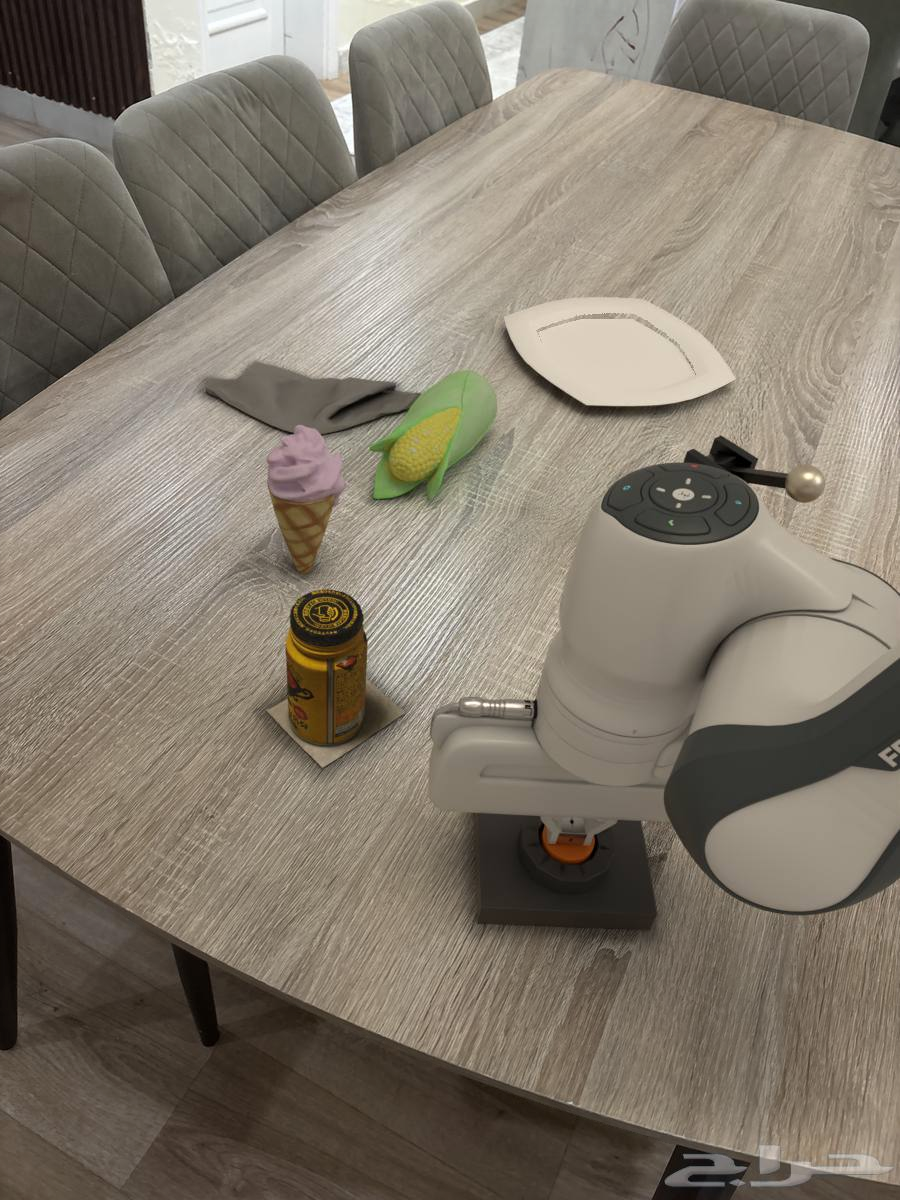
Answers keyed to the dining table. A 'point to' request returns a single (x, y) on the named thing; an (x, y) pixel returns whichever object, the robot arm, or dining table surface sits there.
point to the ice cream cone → (304, 491)
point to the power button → (566, 851)
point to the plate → (617, 353)
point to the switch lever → (779, 478)
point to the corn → (435, 434)
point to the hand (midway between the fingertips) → (567, 836)
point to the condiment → (330, 679)
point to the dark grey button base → (561, 877)
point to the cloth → (309, 398)
